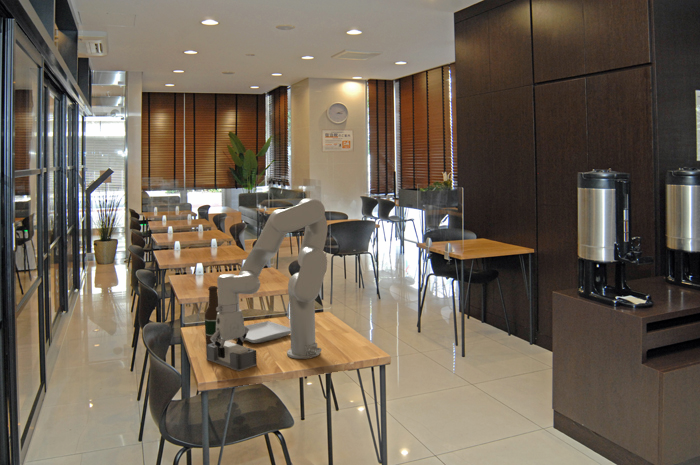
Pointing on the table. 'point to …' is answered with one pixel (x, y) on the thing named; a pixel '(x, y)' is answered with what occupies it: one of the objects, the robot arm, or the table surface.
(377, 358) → the table surface
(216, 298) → the beer bottle
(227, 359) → the beige rectangular block
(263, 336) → the salad plate
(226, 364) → the endcap jig
